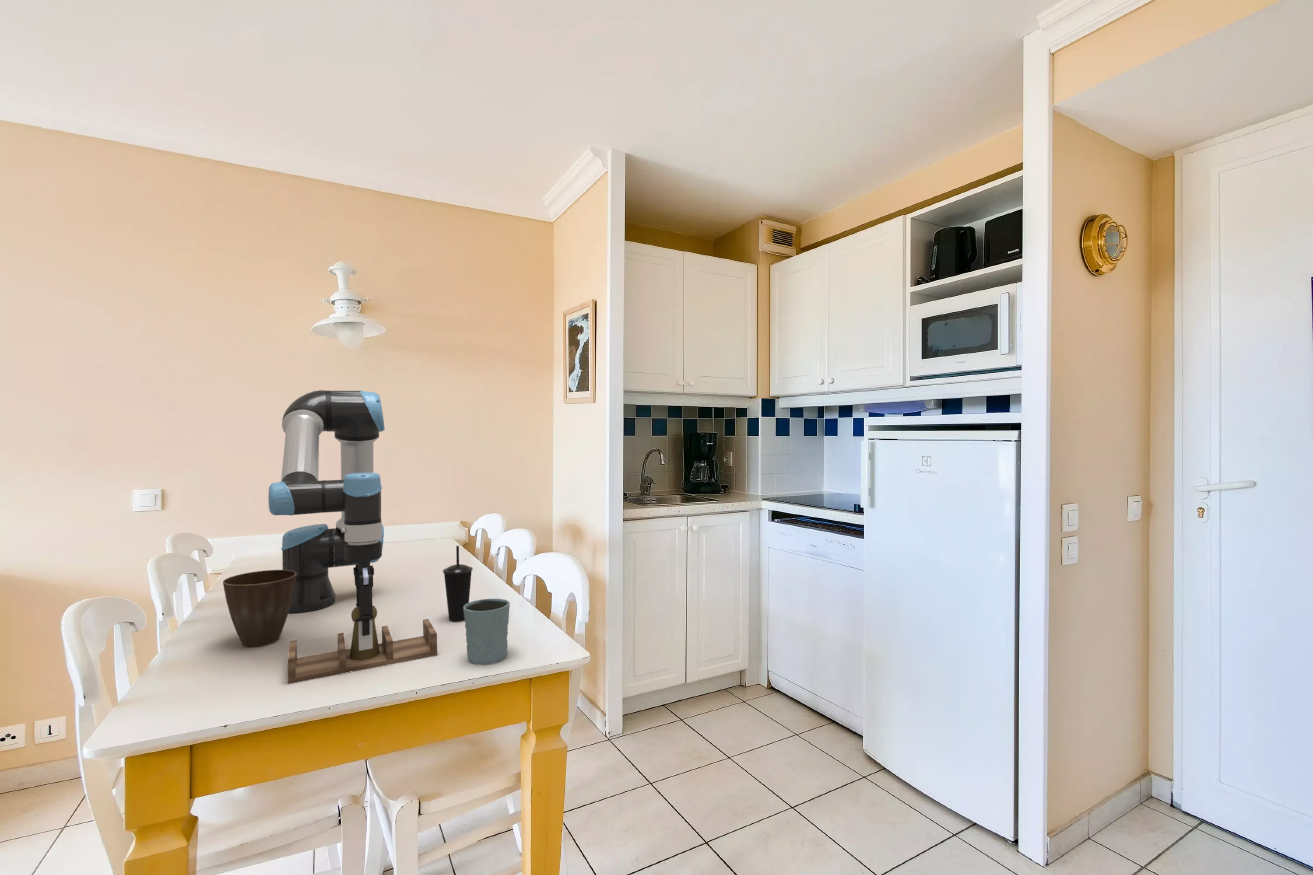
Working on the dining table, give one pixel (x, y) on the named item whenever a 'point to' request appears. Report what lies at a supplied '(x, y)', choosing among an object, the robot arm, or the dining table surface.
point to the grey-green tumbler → (486, 630)
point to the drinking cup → (457, 588)
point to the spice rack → (342, 663)
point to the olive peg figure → (355, 652)
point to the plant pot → (259, 604)
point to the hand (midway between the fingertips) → (364, 644)
